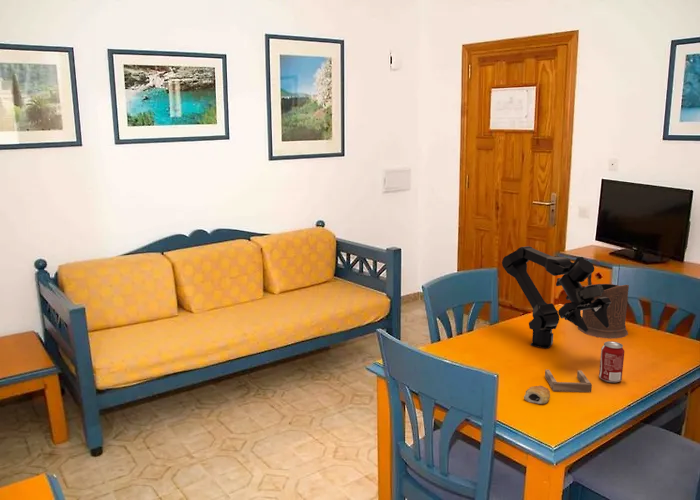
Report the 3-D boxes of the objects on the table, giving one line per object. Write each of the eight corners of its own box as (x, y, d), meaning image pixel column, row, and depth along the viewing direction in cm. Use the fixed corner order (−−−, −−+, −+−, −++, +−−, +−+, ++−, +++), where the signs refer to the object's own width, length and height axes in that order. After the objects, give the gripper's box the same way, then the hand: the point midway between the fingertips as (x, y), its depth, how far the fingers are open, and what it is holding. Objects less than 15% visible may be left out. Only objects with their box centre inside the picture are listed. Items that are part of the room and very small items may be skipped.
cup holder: (603, 341, 230) (609, 277, 224) (557, 322, 251) (561, 263, 246) (638, 334, 237) (645, 271, 232) (590, 316, 259) (595, 258, 253)
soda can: (623, 384, 193) (627, 349, 190) (600, 383, 194) (604, 347, 191) (618, 376, 199) (622, 341, 196) (597, 374, 200) (600, 339, 198)
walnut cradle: (544, 376, 199) (545, 369, 198) (580, 377, 198) (581, 370, 197) (553, 391, 188) (553, 383, 188) (591, 392, 187) (591, 384, 187)
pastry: (532, 389, 190) (533, 378, 189) (554, 395, 186) (555, 383, 185) (522, 401, 182) (523, 389, 181) (545, 407, 179) (546, 395, 178)
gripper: (565, 279, 199) (590, 320, 191) (608, 273, 207) (633, 312, 199) (548, 297, 208) (570, 338, 199) (589, 291, 215) (613, 329, 207)
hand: (597, 329), depth 201 cm, fingers open, 9 cm apart
